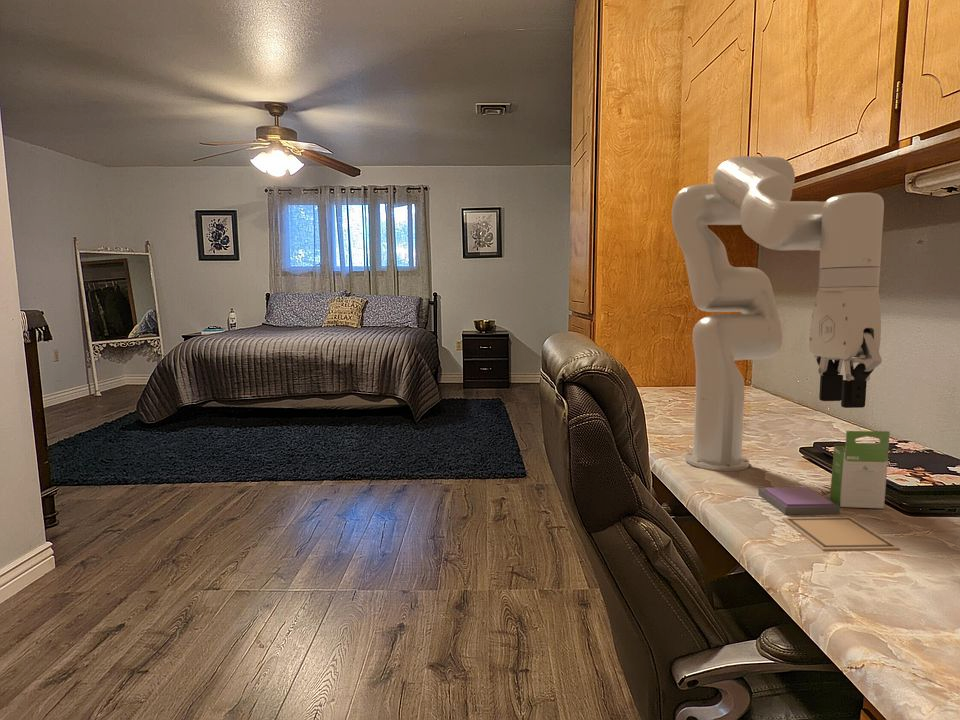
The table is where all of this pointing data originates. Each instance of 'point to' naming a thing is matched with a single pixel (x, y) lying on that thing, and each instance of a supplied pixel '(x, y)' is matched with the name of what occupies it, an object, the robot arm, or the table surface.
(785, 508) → the ink pad
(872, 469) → the ink box
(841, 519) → the marked card
